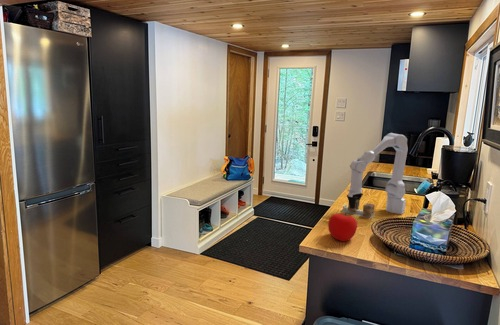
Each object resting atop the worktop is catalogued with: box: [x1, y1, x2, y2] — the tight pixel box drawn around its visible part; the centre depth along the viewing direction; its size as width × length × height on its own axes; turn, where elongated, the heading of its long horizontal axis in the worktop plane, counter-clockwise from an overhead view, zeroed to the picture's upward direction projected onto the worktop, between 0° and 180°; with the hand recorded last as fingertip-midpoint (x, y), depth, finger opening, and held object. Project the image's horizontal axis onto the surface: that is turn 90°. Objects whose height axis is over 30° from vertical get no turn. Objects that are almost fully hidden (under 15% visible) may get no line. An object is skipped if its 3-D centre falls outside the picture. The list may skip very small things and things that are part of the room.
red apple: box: [327, 212, 358, 242], centre depth 147 cm, size 12×14×12 cm
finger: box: [362, 202, 375, 219], centre depth 177 cm, size 4×5×6 cm
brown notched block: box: [347, 199, 361, 212], centre depth 181 cm, size 4×5×6 cm
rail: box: [340, 204, 376, 220], centre depth 180 cm, size 16×7×3 cm, turn 52°
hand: (353, 207), depth 181 cm, fingers closed on brown notched block, 5 cm apart
